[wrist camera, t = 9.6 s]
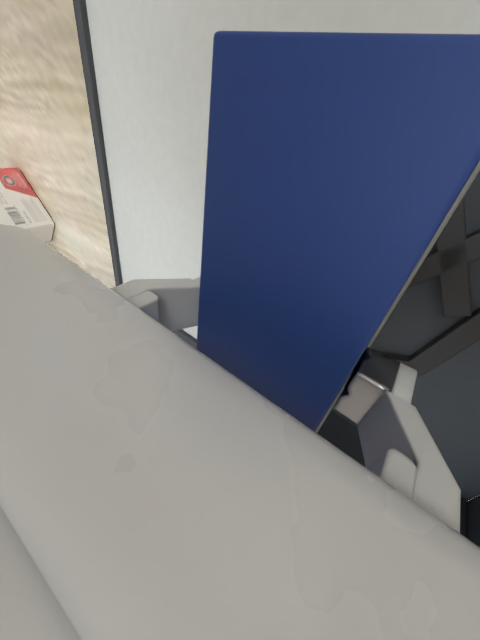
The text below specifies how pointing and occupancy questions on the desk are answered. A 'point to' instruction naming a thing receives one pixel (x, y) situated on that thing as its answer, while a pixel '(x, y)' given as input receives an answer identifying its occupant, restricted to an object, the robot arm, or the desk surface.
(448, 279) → the x mark
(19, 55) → the desk surface
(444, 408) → the dustpan
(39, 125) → the desk surface
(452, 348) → the black bent rod
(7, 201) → the ink cartridge box
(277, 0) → the whiteboard
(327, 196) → the eraser
